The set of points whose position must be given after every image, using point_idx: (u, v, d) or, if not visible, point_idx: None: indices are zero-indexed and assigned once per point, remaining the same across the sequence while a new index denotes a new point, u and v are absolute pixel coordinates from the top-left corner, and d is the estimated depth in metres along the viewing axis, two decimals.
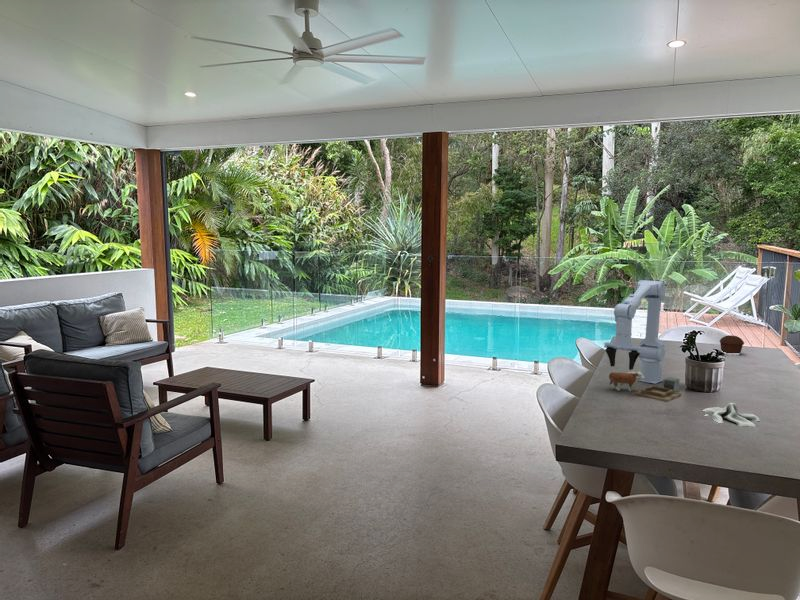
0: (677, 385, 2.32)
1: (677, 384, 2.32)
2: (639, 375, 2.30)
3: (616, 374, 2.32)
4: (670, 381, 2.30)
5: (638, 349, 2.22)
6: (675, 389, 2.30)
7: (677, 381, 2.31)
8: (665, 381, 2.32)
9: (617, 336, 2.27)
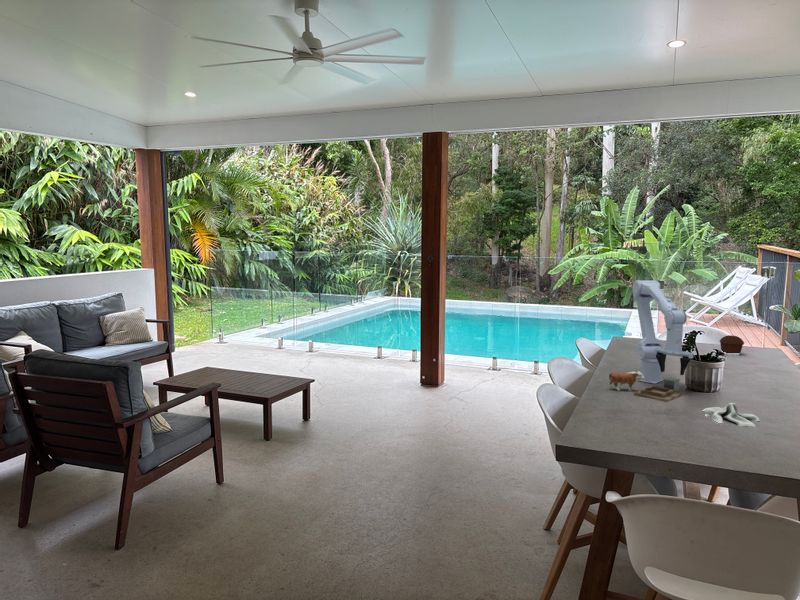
0: (677, 385, 2.32)
1: (677, 384, 2.32)
2: (639, 375, 2.30)
3: (616, 374, 2.32)
4: (670, 381, 2.30)
5: (690, 355, 2.26)
6: (675, 389, 2.30)
7: (677, 381, 2.31)
8: (665, 381, 2.32)
9: (668, 342, 2.30)
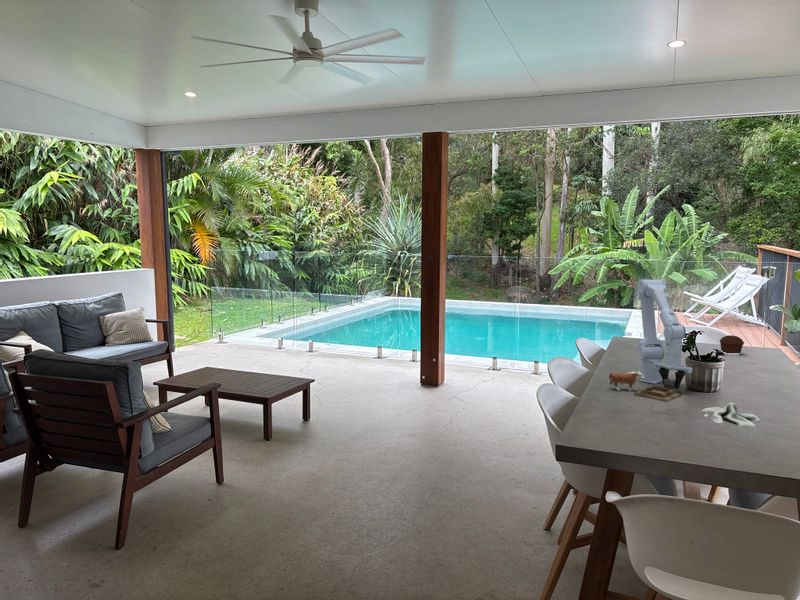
0: None
1: None
2: (639, 375, 2.30)
3: (616, 374, 2.32)
4: (670, 381, 2.30)
5: (689, 370, 2.26)
6: (675, 389, 2.30)
7: None
8: (665, 381, 2.32)
9: (667, 357, 2.30)
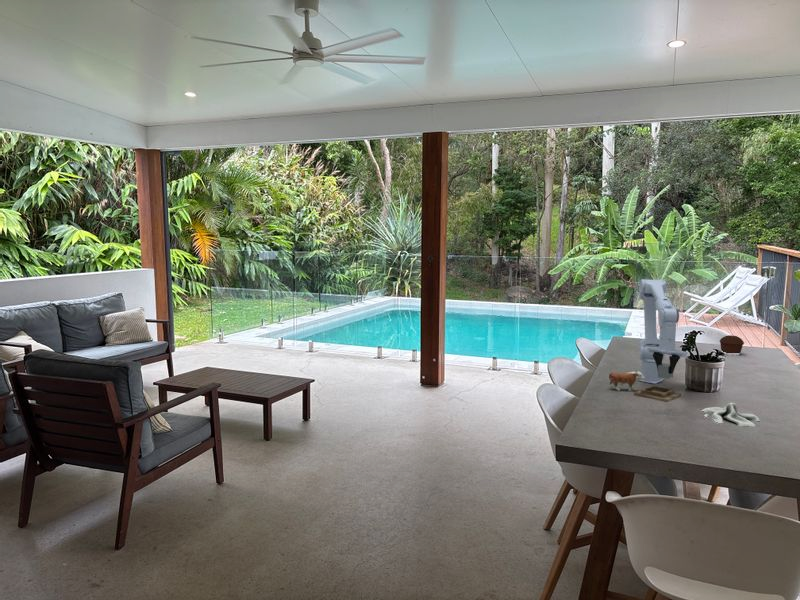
0: None
1: None
2: (639, 375, 2.30)
3: (616, 374, 2.32)
4: (664, 367, 2.26)
5: (683, 354, 2.22)
6: (669, 375, 2.26)
7: None
8: (659, 367, 2.27)
9: (661, 341, 2.26)
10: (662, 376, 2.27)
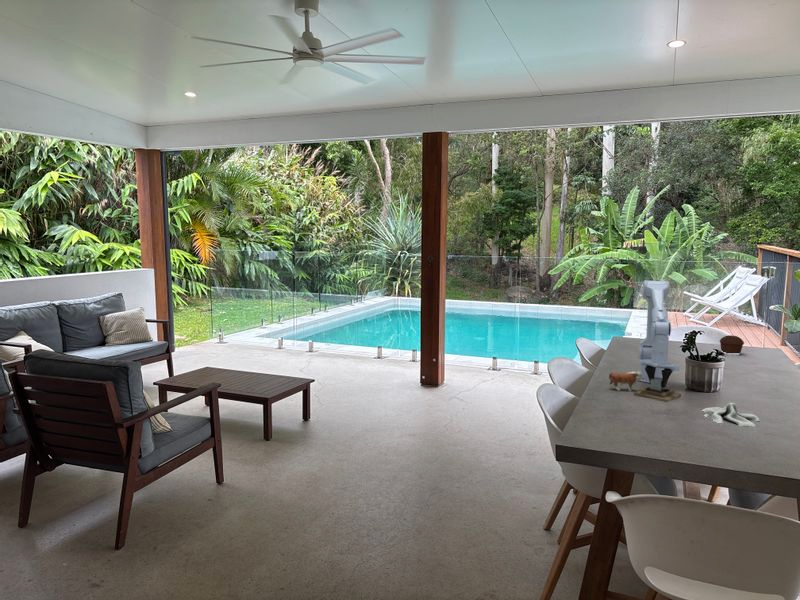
0: None
1: None
2: (639, 375, 2.30)
3: (616, 374, 2.32)
4: (657, 381, 2.23)
5: (675, 368, 2.19)
6: (661, 389, 2.23)
7: None
8: (651, 381, 2.25)
9: (653, 354, 2.23)
10: (654, 390, 2.24)
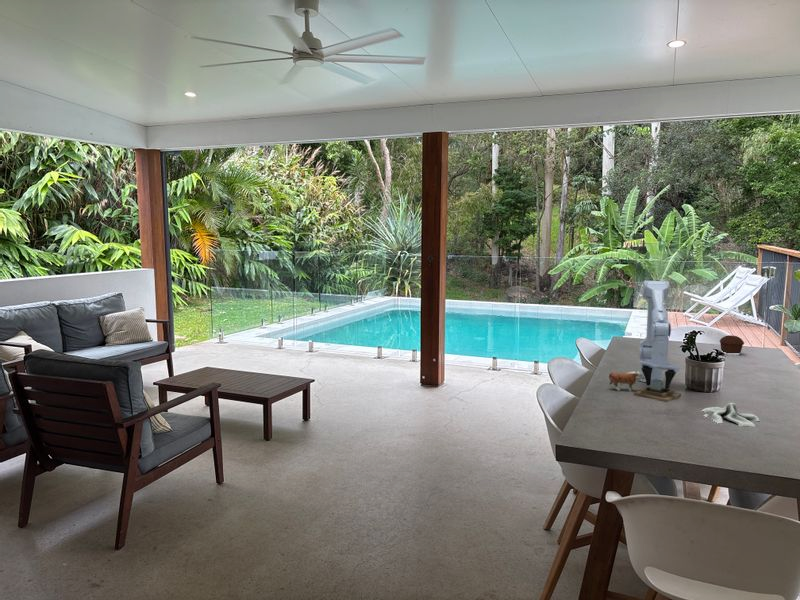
0: (664, 387, 2.25)
1: (664, 386, 2.25)
2: (639, 375, 2.30)
3: (616, 374, 2.32)
4: (656, 383, 2.23)
5: (675, 368, 2.19)
6: (661, 391, 2.24)
7: (664, 383, 2.25)
8: (651, 383, 2.25)
9: (653, 355, 2.23)
10: None
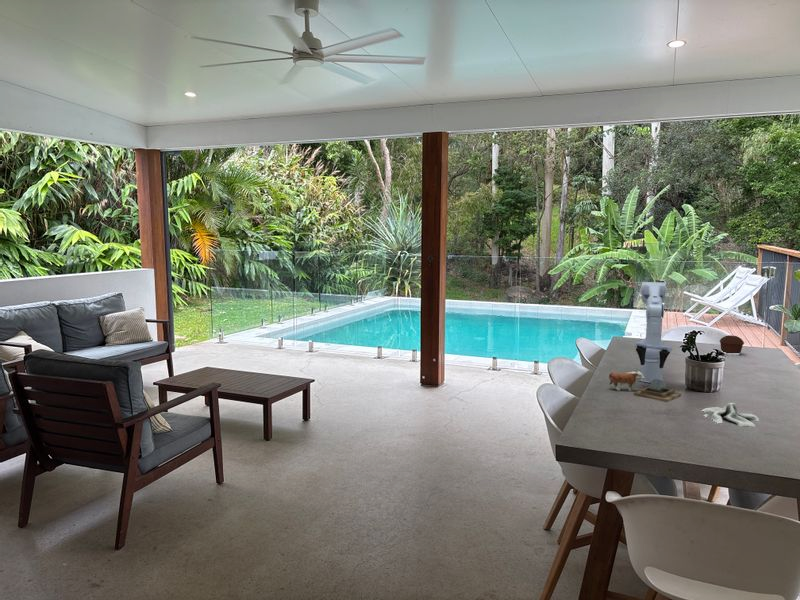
0: (664, 387, 2.25)
1: (664, 386, 2.25)
2: (639, 375, 2.30)
3: (616, 374, 2.32)
4: (656, 383, 2.23)
5: (669, 348, 2.28)
6: (661, 391, 2.24)
7: (664, 383, 2.25)
8: (651, 383, 2.25)
9: (648, 335, 2.33)
10: None
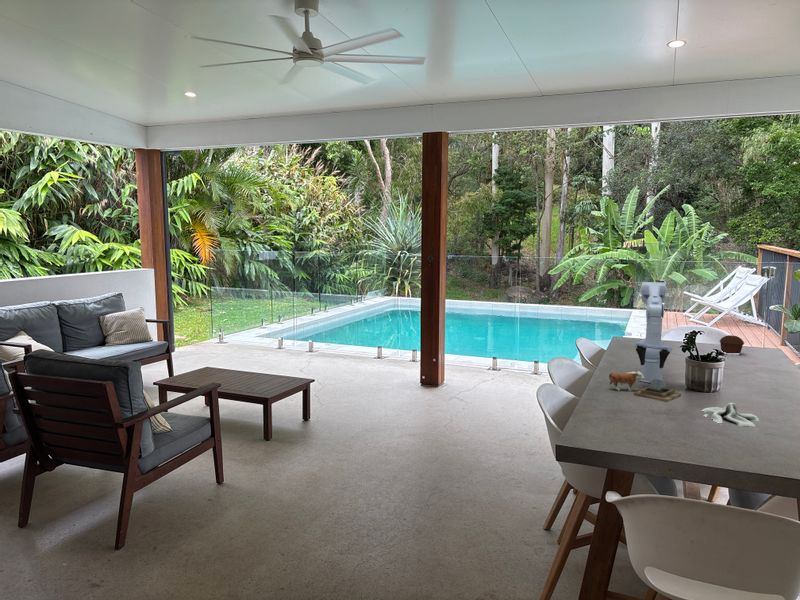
0: (664, 387, 2.25)
1: (664, 386, 2.25)
2: (639, 375, 2.30)
3: (616, 374, 2.32)
4: (656, 383, 2.23)
5: (669, 348, 2.28)
6: (661, 391, 2.24)
7: (664, 383, 2.25)
8: (651, 383, 2.25)
9: (648, 335, 2.33)
10: None
